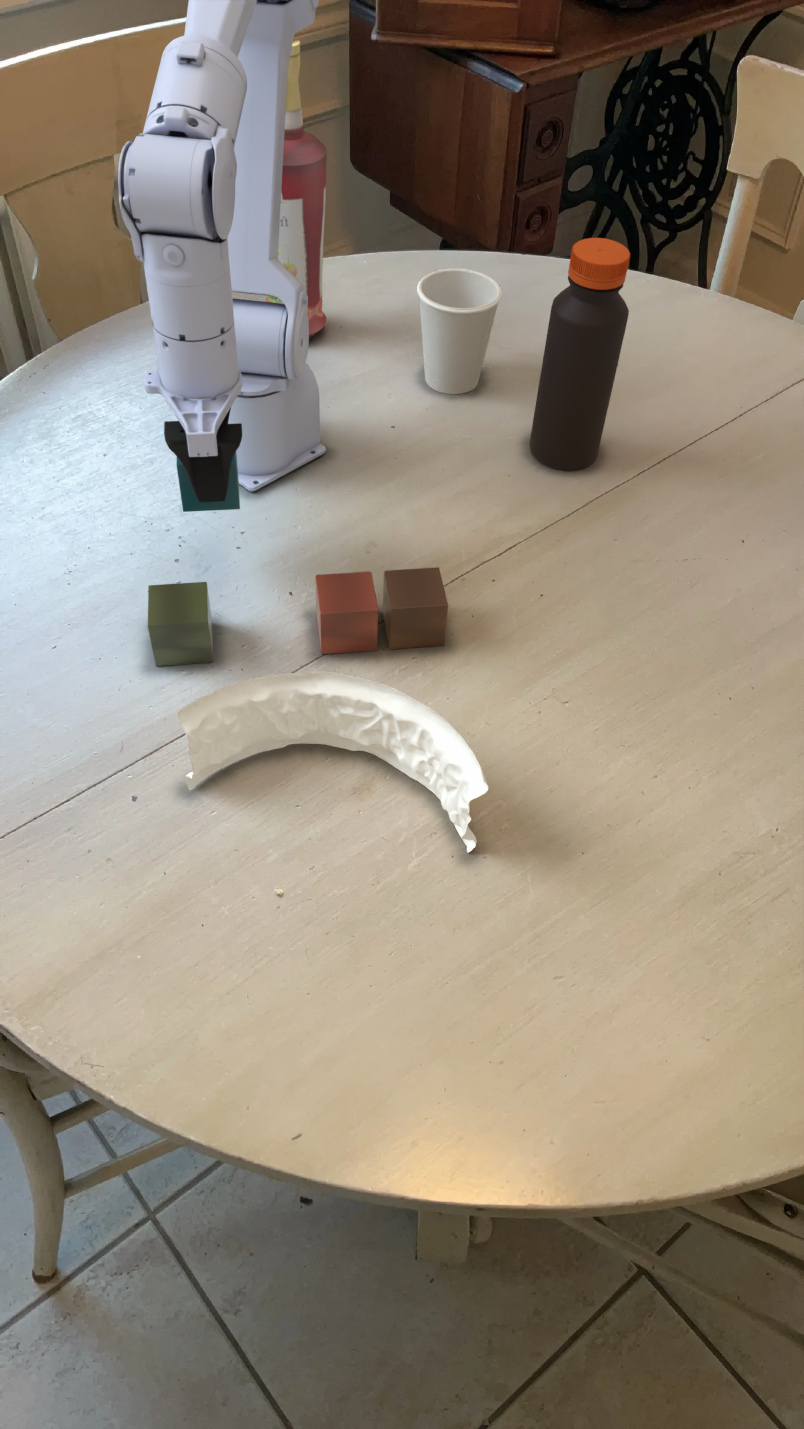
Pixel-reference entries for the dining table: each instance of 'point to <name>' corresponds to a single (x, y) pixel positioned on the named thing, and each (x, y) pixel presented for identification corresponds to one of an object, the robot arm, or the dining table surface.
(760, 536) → the dining table surface
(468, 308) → the dixie cup
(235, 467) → the teal block
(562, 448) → the bottle
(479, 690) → the dining table surface
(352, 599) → the block row
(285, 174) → the liquor
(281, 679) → the curved plaster moulding
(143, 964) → the dining table surface
